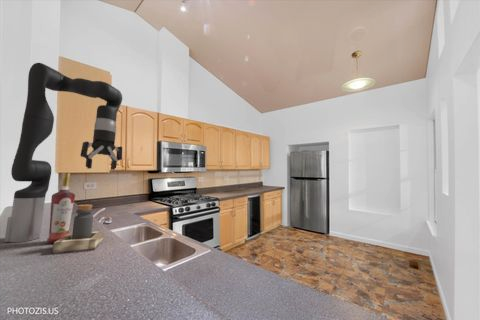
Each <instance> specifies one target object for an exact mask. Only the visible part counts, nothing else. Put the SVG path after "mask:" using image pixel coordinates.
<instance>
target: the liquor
mask: <svg viewBox="0 0 480 320" xmlns="http://www.w3.org/2000/svg"><path fill="white" fill-rule="evenodd" d="M70 180H71V173H69V172H68V173H67V172H66V173H65V172H63V173H61V184H60V187H59V191H58V192H55V193H54V194H52V195H51V201H50V221H49V229H48V230H49V231H48V232H49V233H48V238H47V239H46V241H47V242H49V243H50V244H53V245H54V242H56V241H57V240H59V239H60V238H62V237H64V236H65V235H67V234H68V233H70V227H71V221H72V215H73V211H74V210H73V209H74V206H75V205H74V204H75V199H76V194H75V193H74V192H71V191H70Z"/></svg>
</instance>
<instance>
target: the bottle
mask: <svg viewBox="0 0 480 320" xmlns="http://www.w3.org/2000/svg"><path fill="white" fill-rule="evenodd" d="M75 213H76V214H77V215H75V216H74V217H73V226H72V232H71V233H72V240H74V239H87V238H91V233H92V232H93V231H92V230H93V222H94V215H92V214H91V213H93V204H87V203H86V204H78V205H77V209H76V211H75Z"/></svg>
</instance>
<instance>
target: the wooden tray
mask: <svg viewBox="0 0 480 320" xmlns="http://www.w3.org/2000/svg"><path fill="white" fill-rule="evenodd" d="M72 233H73V232H69V233H68V234H67V235H65V236H64V237H62V238H60V239H59V240H57V241H56V242H54V244H53V249H52V254H53V255H55V254H63V253H64V254H66V253H77V252H86V251H95V250H96V249H97V248H98V247H99V245H100V244H101V243H102V242H103V241H104V236H105V235H104V233H105V232H104V230H100V231H92V233H91V238H87V239H74V240H72Z"/></svg>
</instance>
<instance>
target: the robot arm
mask: <svg viewBox="0 0 480 320" xmlns="http://www.w3.org/2000/svg"><path fill="white" fill-rule="evenodd" d="M27 78H28V79H27V95H26V97H27V98H26V104H25V110H24V113H23V118H22V123H21V124H22V125H21V132H20V137H19V142H18V145H17V149H16V153H15V156H14V158H13V162H12V165H11V170H10V171H11V178H12V179H13V180H14V181H16V182H30V184H29V185H28V186H26V187H25V188H22V189H18V190H16V191H14V193H13V200H12V208H11V214H10V216H9V217H8V218H7V220H6V221H7V222H6V227H5V235H4V243H20V242H21V243H22V242H29V241H33V240H38V239H39V238H41V233H42V225H43V219H44V218H43V217H44V211H45V201H46V196H47V192H48V191H49V188H50V181H51V177H52V165H51V163H49V162H48V161H45V160H35V159H33V157H34V153H35V152H36V150H37V148H38V147H39V146H40V145H41V144H42V143H43V142H44V141H45V140H46V139H47V138H48V137H50V136H51V134H52V132H53V129H54V123H55V122H54V121H55V117H54V113H53V111H52V109H51V106H50V105H49V102H48V100H47V97H46V89H48V90H49V91H54V92H63V93H64V92H67V93H72V94H77V95H82V96H85V97H88V98H92V99H93V98H94V99H96V98H97V99H101V100H102V101H105V103H106V104H101V105H98V106H97V108H96V116H95V122H94V126H93V127H94V128H93V137H92V142H89V141H83V142H82V146H81V150H80V157H81V158H85V167H86V169H92V167H93V166H92V165H93V159H92V158H94V157H95V156H96V155H103V156H108V158H110V159H111V163H110V170H111V171H114V170H116V169H117V164H118V163H117V162H118V161H122V160H123V147H122V146H116V145H115V143H116V135H117V117H118V115H117V114H118V111H119V109H120V107H121V104H122V102H123V94H122V93H121V91H120V89H118V88H116V87H114V86H113V85H111V84H109V83H108V82H106V81H102V80H91V79H85V78H81V77H80V78H79V77H77V78H70V77H68V76H66V75H65V74H63V73H61V72H59V71H57V70H56V69H54V68H52V67H50V66H48V65H47V64H44V63H43V62H35V63H33V64H32V65H31V66H30V68H29V71H28V76H27ZM90 147H91V148H92V150H91V151H90V152H89V153H88V150H89V148H90ZM114 150H115V152H116V154H115V153H114Z"/></svg>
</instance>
